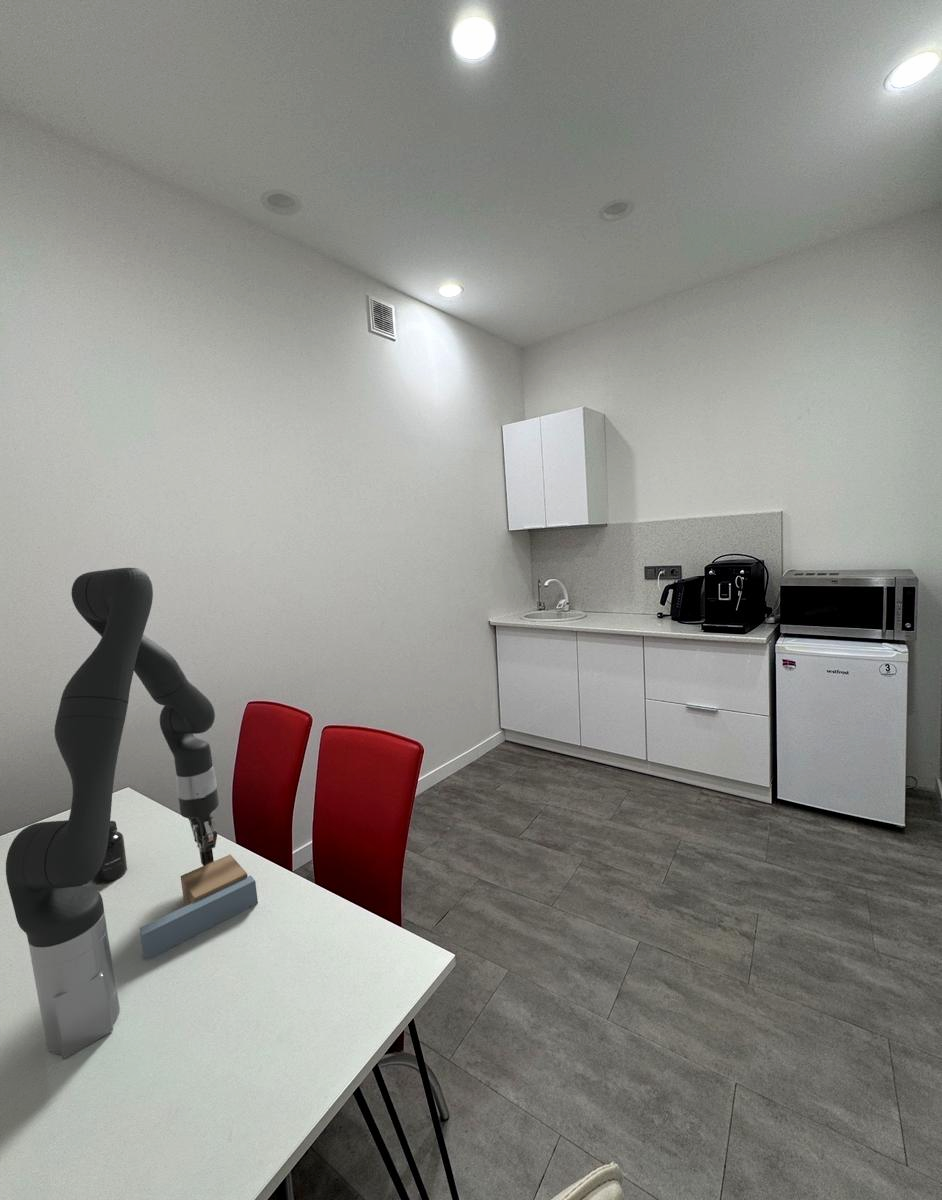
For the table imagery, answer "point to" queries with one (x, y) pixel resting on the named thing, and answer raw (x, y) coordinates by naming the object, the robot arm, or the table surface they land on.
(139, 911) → the table surface
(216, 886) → the walnut block
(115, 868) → the supplement bottle
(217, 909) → the slate board
